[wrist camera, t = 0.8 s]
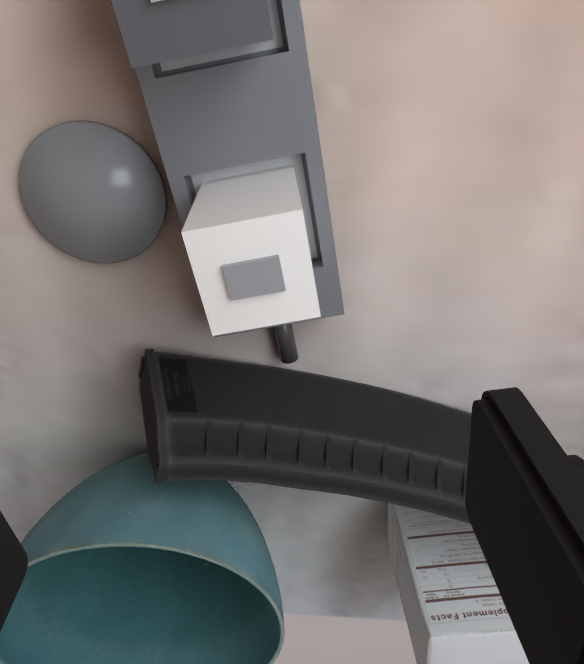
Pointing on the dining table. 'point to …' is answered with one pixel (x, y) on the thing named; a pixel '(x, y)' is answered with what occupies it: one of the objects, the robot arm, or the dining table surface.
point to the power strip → (248, 134)
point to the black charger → (188, 27)
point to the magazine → (302, 433)
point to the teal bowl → (145, 577)
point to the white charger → (251, 251)
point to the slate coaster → (92, 191)
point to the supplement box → (448, 592)
